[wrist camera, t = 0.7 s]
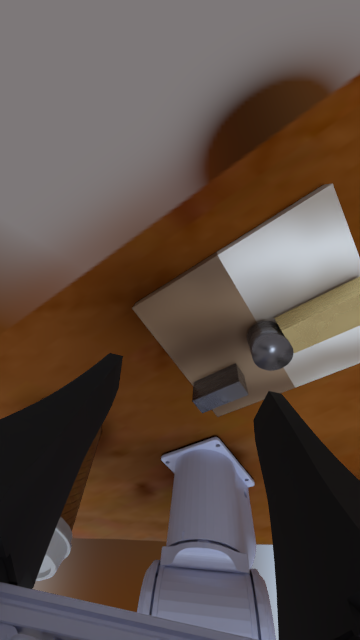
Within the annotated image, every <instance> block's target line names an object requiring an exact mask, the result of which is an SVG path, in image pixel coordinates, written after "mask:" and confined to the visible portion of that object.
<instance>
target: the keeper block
mask: <svg viewBox="0 0 360 640" xmlns="http://www.w3.org/2000/svg"><path fill="white" fill-rule="evenodd" d="M247 395H249V394H248V390H247V385H246V381H245V376H244V374H243V373H242V371H241V370H240V368H239V367H238V365H237V364H236V363H235V364H233V365H230V366H228V367H226V368H224V369H222V370H219V371H217V372H215V373H213V374H210V375H208V376H206V377H204V378H202V379H199V380H197V381H195V382H194V384H193V400H192V401H193V402H194V404H195V405H196V406H197V407H198V409H199V410H200V411H201V412H202V413H204V412H206V411H209V410H211V409H214V408H216V407H219V406H222V405H224V404H227V403H229V402H232V401H234V400H237V399H239V398H242V397H244V396H247Z"/></svg>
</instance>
